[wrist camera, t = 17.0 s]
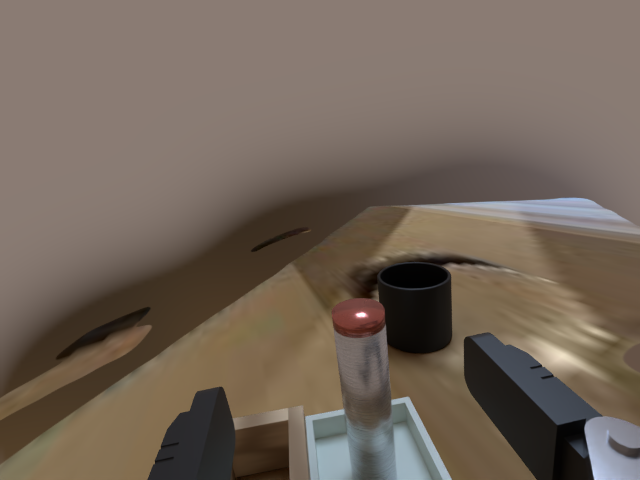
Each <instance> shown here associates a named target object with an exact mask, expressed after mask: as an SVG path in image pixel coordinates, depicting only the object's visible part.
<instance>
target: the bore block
mask: <svg viewBox="0 0 640 480" xmlns="http://www.w3.org/2000/svg"><path fill="white" fill-rule="evenodd" d="M233 422H234V426H235V438H236V440H235V451H234V457H233V464H232V471H231V478H230V480H235V478H236V477H241V476H246V475H251V474H256V473H261V472H266V471H271V470H276V469H281V468H285V467H289V474H290V480H311V477H310V465H309V453H308V442H307V430H306V422H305V416H304V410H303V405H302V406H297V407H291V408H286V409H281V410H276V411H270V412H265V413H260V414H254V415H249V416H244V417H239V418H233Z"/></svg>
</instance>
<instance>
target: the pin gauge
mask: <svg viewBox="0 0 640 480" xmlns="http://www.w3.org/2000/svg"><path fill="white" fill-rule="evenodd" d="M332 319H333V327H334V335H335V343H336V351H337V359H338V367H339V375H340V383H341V391H342V399H343V407H344V415H345V424H346V432H347V440H348V448H349V456H350V464H351V472H352V479H353V480H397V468H396V455H395V442H394V428H393V415H392V402H391V389H390V376H389V362H388V349H387V336H386V323H385V310H384V306H383V305H382V304H381V303H379V302H377V301H375V300H372V299H365V298H357V299H350V300H346V301H343V302H341V303H339V304H337V305H336V306H335V307H334V308H333V310H332Z"/></svg>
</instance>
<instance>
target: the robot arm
mask: <svg viewBox="0 0 640 480" xmlns="http://www.w3.org/2000/svg"><path fill="white" fill-rule="evenodd" d="M464 376H465V381H466V384H467V387H468V389H469V391H470V393H471V394H472V396H473V397H474V398H475V400H476V401H477V402H478V404H479V405H480V406H481V407H482V409H483V410H484V411H485V413H486V414H487V415H488V417H489V418H490V419H491V420H492V422H493V423H494V424H495V426H496V427H497V428H498V430H499V431H500V432H501V434H502V435H503V436H504V437H505V439H506V440H507V441H508V443H509V444H510V445H511V447H512V448H513V449H514V450H515V452H516V453H517V454H518V456H519V457H520V458H521V460H522V461H523V462H524V463H525V465H526V466H527V467H528V469H529V470H530V471H531V473H532V474H533V475H534V476H535V478H536V479H537V480H640V427H638V426H636V425H634V424H632V423H629V422H627V421H624V420H621V419H617V418H612V417H603V416H602V415H601V414H599V413H598V412H597V411H596V410H595V409H593V408H592V407H591V406H590V405H589V404H588V403H586V402H585V401H584V400H583V399H582V398H580V397H579V396H578V395H577V394H576V393H574V392H573V391H572V390H571V389H570V388H569V387H567V386H566V385H565V384H564V383H563V382H561V381H560V380H559V379H558V378H557V377H554V376H553V374H552V373H551V372H549V371H548V370H547V369H546V368H545V367H542V365H541V364H540V363H539V362H538V361H536V360H535V359H534V358H533V357H532V356H530V355H529V354H528V353H526V352H524V351H522V350H520V349H518V348H516V347H514V346H512V345H506V346H505V345H504V344H503V343H501V342H500V341H499V340H498V339H497V338H496V337H495V336H494V335H492V334H491V333H482V334H477V335H473V336H468V337H465V339H464ZM235 440H236V438H235V426H234V422H233V419H232V415H231V412H230V408H229V405H228V401H227V398H226V395H225V391H224V389H223V387H217V388H212V389H207V390H202V391H198V392H197V393H196V394H195V397H194V400H193V403H192V406H191V409H190V411H188V412H183V413H180V414H179V415H178V416H177V418H176V419H175V420H174V421H173V423H172V424H171V425H170V427H169V428H168V429H167V432H166V434H165V437H164V439H163V442H162V444H161V449H160V450H159V452H158V454H157V457H156V459H155V464H154V465H153V467H152V469H151V472H150V475H149V477H148V480H230V478H231V471H232V464H233V457H234V451H235Z"/></svg>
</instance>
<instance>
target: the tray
mask: <svg viewBox="0 0 640 480" xmlns="http://www.w3.org/2000/svg"><path fill="white" fill-rule="evenodd" d="M391 402H392V415H393V428H394V442H395V455H396V468H397V480H452V479H451V477H450V475H449V474H448V472H447V470H446V468H445V466H444V464H443V462H442V460H441V458H440V456H439V454H438V452H437V450H436V448H435V446H434V445H433V443H432V441H431V439H430V437H429V435H428V433H427V431H426V429H425V427H424V425H423V423H422V421H421V419H420V418H419V416H418V414H417V412H416V410H415V408H414V406H413V404H412V402H411V400H410V398H409V397H405V398H400V399H395V400H391ZM305 418H306V430H307V442H308V453H309V465H310V477H311V480H353V479H352V472H351V464H350V456H349V448H348V440H347V432H346V424H345V415H344V409H342V410H337V411H332V412H327V413H321V414H316V415H311V416H306V417H305Z"/></svg>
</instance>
